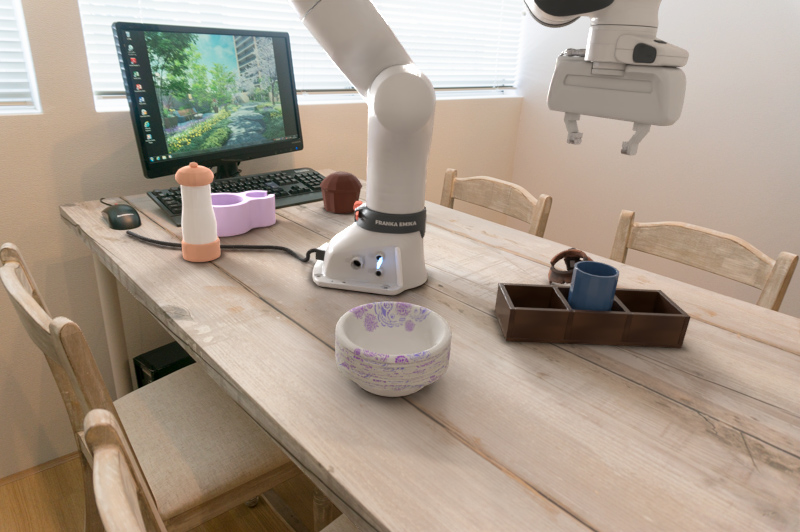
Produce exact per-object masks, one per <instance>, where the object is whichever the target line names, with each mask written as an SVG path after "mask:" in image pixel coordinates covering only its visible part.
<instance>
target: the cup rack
mask: <svg viewBox="0 0 800 532" xmlns="http://www.w3.org/2000/svg"><path fill="white" fill-rule="evenodd" d="M570 286H571V285H556V284H555V285H554V284H537V283H536V284H535V283H533V284H532V283H511V282H509V283H508V282H498V284H497V291H496V299H495V306H494V314H495V318H496V319H497V322H498V324H499V327H500V330H501V332H502V335H503V337H504V340H505V341H506V342H522V343H523V342H525V343H548V344H549V343H550V344H577V345H596V346H597V345H598V346H600V345H601V346H621V347H622V346H623V347H624V346H625V347H648V348H670V349H673V348H674V349H682V347H683V344H684V341H685V338H686V334H687V331H688V327H689V325H690V321H691V315H689V314H688V313H687V312H686V311H685V310H684V309H682V307H680V306H679V305H678V304H677V303H676V302H675V301H673V300H672V298H670V297H669V296H668V295H667V294H666V293H665V292H664V291H662V290H661V289H647V288H644V289H643V288H623V287H616V291H615V296H614V300H613V304H612V309H611V311H594V310H573V309H572V308H571V306H570V305H569V303H568V302H567V301H568V296H569V291H570Z"/></svg>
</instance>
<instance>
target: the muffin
mask: <svg viewBox="0 0 800 532" xmlns="http://www.w3.org/2000/svg"><path fill="white" fill-rule="evenodd" d="M319 187H320V189H321V194H322V196H321V197H322V201H323V208H324V209H325V210H326V212H329V213H333V214H343V215H344V214H351V213H355V211H354V208H353V207H354V203H356V201H360V196H361V190H362V189H363V184H362V183H361V181H360V179H359V178H358V177H357V176H356V175H355V174H353V173H351V172H348V171H340V170H339V171H334V172H332V173H329V174H328V175H327V176H325V177H324V178H323V179H322V181H321V182H320V184H319Z"/></svg>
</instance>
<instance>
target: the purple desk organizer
mask: <svg viewBox="0 0 800 532" xmlns="http://www.w3.org/2000/svg"><path fill="white" fill-rule="evenodd" d="M211 199H212V206H213V210H214V214H215V218H216V222H217V237H218V238H219V237H221V238H224V237H225V238H226V237H234V236H239V235H243V234H245V233H248V232H249V231H250V230H252V229H256V228H265V227H270V226H273V225H275V224H276V220H277V219H276V195H275V193H270V194H268V190H259V189H256V190H255V189H254V190H246V191H242V192H211Z"/></svg>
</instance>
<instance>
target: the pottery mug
mask: <svg viewBox="0 0 800 532" xmlns="http://www.w3.org/2000/svg"><path fill="white" fill-rule="evenodd" d="M561 260H563V262H564V265H565V269H566V270H559V269H557V268H556V267H555V265H557V264H558V262H559V261H561ZM580 261H594V260H593V259H592V258H591V257H590V256H588V255H587V253H586V252H584V251H583V250H581V249H577V248H575V247H570V248H568V249H566V250H562V251H560V252H557V254H555V255H554V256H553V257H552V258H551V260H550V261H549V264H550V267H549V270H548V272H547V277H548V279H547V280H548V283H549V285H552V283H555V284H560V285H565V284H567V285H568V284H571V281H572V275H573V270H574V265H575V263H577V262H580Z"/></svg>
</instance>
